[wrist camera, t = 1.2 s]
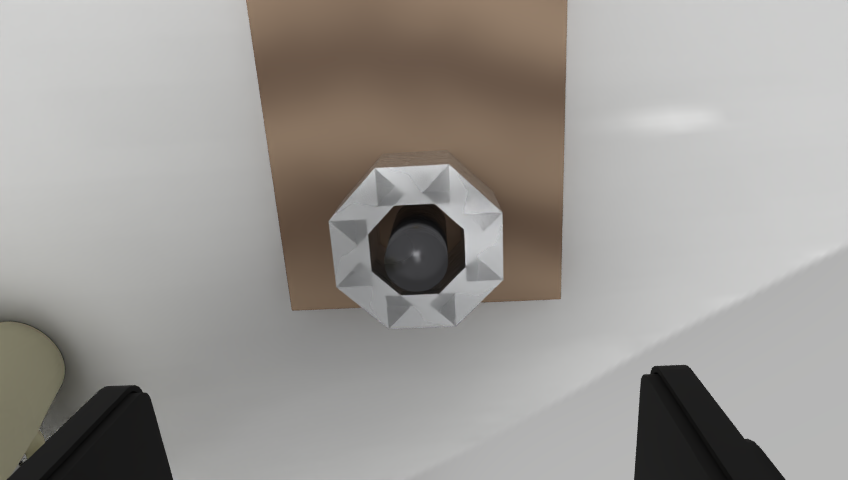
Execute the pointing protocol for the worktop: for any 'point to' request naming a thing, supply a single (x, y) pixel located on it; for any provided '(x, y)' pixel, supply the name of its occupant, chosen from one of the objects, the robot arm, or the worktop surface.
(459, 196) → the white octagonal block
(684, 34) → the worktop surface
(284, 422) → the worktop surface
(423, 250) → the stand rod
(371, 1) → the base board
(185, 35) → the worktop surface
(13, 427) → the mug
